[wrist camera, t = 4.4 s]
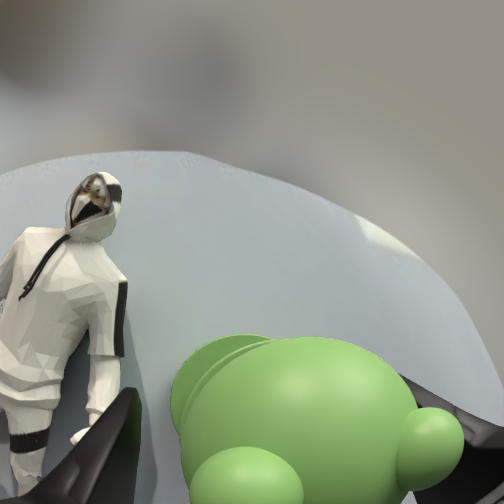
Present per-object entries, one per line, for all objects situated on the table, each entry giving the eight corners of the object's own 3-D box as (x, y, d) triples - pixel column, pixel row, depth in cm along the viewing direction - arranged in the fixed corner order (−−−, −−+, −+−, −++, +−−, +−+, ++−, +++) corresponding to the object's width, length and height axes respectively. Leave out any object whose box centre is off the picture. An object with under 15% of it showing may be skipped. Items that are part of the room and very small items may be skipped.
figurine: (-81, 487, 2) (31, 121, 13) (-44, 473, 8) (57, 172, 19) (63, 599, 3) (210, 188, 14) (80, 560, 9) (201, 235, 20)
